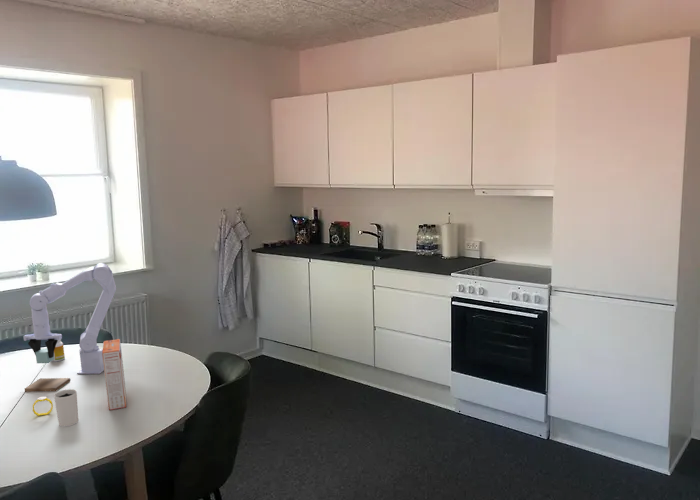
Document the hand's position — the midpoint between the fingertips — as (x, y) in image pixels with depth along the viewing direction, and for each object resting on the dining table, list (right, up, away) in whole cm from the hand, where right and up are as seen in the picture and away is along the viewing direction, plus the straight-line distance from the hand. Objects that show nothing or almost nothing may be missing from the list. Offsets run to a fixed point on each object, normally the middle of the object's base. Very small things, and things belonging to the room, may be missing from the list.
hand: (45, 357), depth 230 cm
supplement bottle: (-6, -5, +23) cm, 24 cm away
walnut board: (+5, -10, -8) cm, 13 cm away
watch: (+17, -14, -33) cm, 40 cm away
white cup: (+28, -14, -40) cm, 51 cm away
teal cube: (0, -2, 0) cm, 2 cm away
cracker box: (+38, -11, -24) cm, 47 cm away
